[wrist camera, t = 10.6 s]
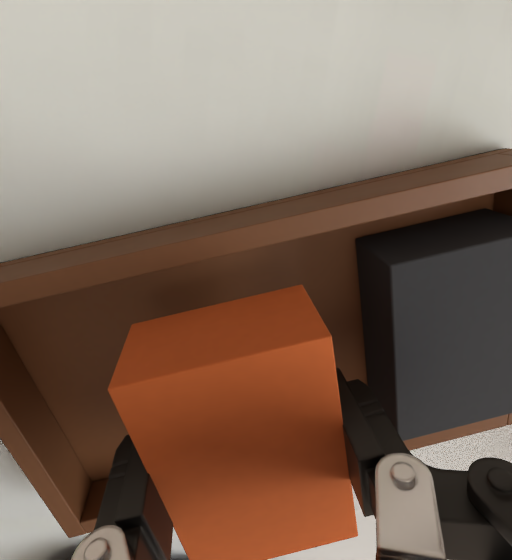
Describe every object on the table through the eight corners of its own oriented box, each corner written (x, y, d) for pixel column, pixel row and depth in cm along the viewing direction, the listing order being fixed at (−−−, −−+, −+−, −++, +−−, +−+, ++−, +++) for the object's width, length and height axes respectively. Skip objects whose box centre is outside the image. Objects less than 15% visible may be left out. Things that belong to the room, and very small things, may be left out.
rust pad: (199, 491, 14) (197, 578, 12) (131, 323, 11) (106, 389, 8) (330, 458, 15) (358, 536, 12) (302, 283, 11) (331, 335, 9)
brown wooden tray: (86, 485, 18) (68, 538, 16) (-41, 272, 13) (-93, 304, 11) (484, 384, 19) (523, 421, 17) (505, 147, 14) (565, 153, 12)
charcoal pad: (367, 393, 18) (397, 443, 15) (354, 238, 14) (389, 265, 11) (474, 366, 18) (523, 411, 15) (485, 207, 14) (551, 227, 12)
